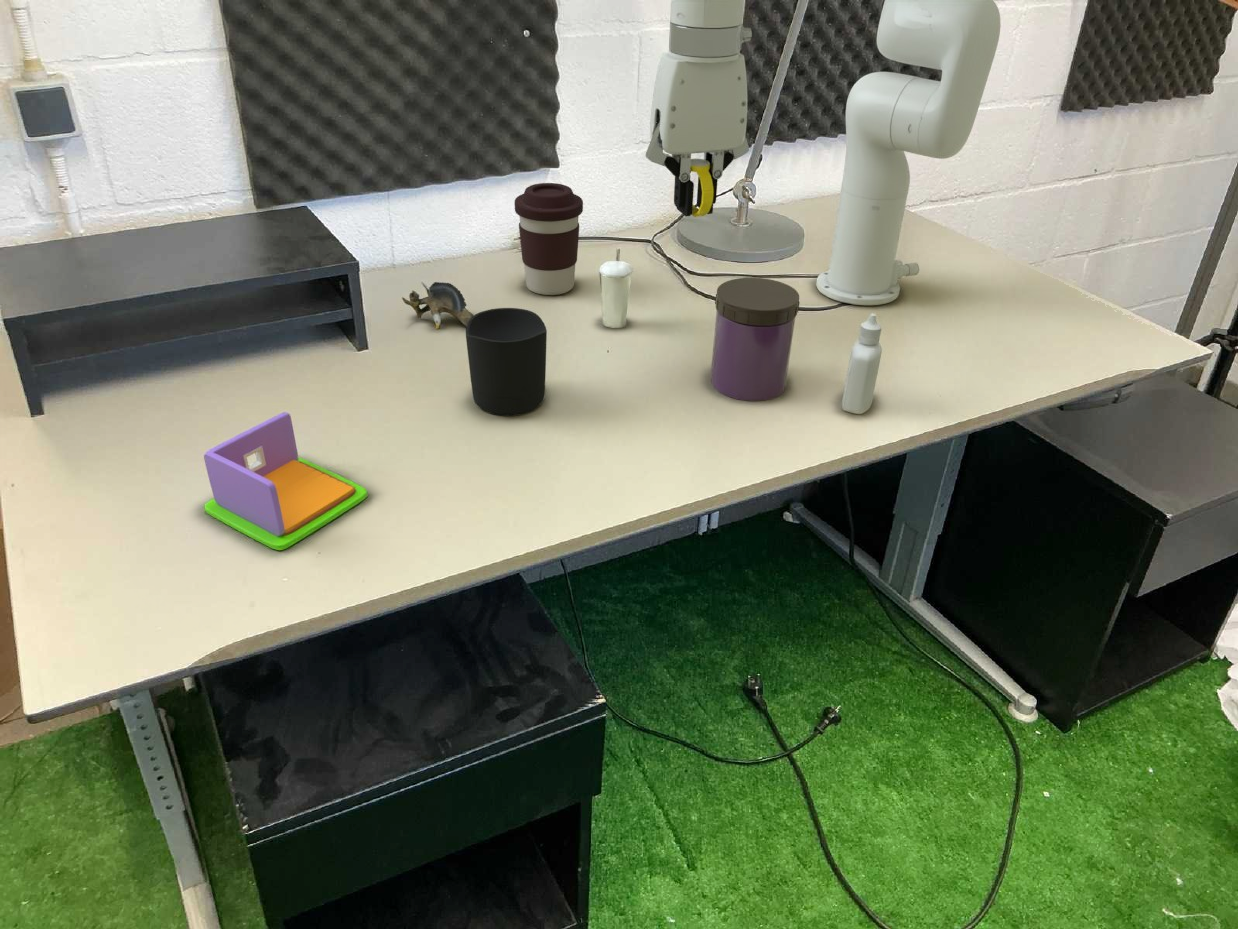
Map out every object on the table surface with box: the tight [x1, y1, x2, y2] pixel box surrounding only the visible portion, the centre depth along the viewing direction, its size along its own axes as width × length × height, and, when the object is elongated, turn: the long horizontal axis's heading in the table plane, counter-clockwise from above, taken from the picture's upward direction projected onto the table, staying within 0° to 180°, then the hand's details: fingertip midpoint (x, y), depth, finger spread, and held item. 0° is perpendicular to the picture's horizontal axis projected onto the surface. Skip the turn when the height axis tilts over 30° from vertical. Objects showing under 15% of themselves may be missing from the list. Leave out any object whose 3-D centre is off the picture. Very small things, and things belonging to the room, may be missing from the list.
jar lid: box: [714, 277, 800, 326], centre depth 116 cm, size 10×10×2 cm
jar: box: [709, 310, 796, 402], centre depth 119 cm, size 10×10×12 cm
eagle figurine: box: [401, 280, 475, 330], centre depth 134 cm, size 8×7×9 cm
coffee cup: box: [514, 182, 584, 296], centre depth 143 cm, size 10×10×15 cm
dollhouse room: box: [203, 411, 368, 551], centre depth 96 cm, size 12×12×7 cm
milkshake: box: [598, 247, 633, 329], centre depth 134 cm, size 4×5×10 cm
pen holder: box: [465, 307, 548, 417], centre depth 115 cm, size 9×9×10 cm
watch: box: [690, 158, 714, 218], centre depth 110 cm, size 6×3×6 cm, turn 26°
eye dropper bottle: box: [841, 313, 883, 415], centre depth 115 cm, size 4×6×12 cm
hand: (694, 210), depth 112 cm, fingers closed on watch, 2 cm apart
